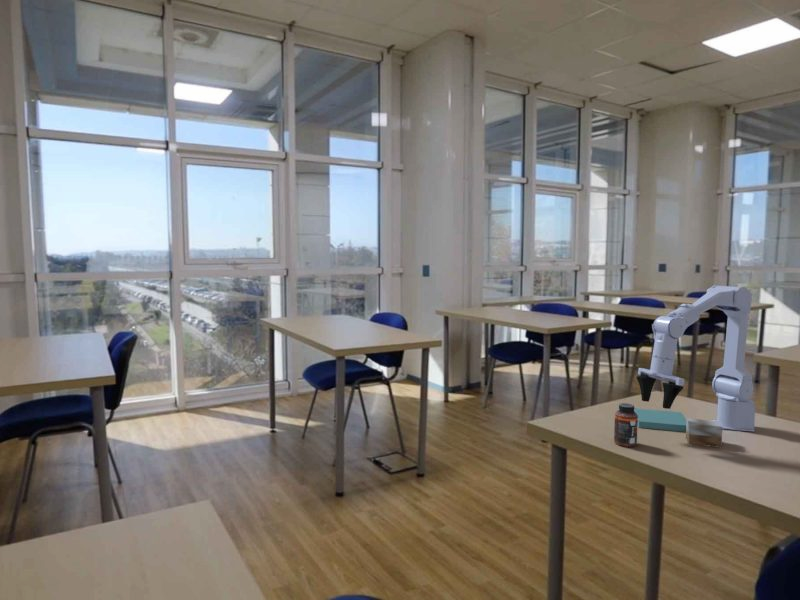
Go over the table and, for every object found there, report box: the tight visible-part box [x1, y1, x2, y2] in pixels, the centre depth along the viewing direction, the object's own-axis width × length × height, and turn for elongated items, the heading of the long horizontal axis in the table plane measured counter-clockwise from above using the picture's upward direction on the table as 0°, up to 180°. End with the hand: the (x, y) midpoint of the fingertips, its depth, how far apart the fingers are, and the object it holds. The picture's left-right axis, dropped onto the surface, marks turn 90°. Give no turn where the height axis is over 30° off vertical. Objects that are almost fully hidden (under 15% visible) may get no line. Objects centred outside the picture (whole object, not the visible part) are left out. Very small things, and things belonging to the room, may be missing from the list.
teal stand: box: [634, 407, 686, 433], centre depth 165 cm, size 14×14×2 cm
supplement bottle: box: [613, 402, 638, 448], centre depth 147 cm, size 6×6×11 cm
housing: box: [685, 418, 723, 448], centre depth 148 cm, size 8×5×6 cm, turn 71°
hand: (655, 404), depth 149 cm, fingers open, 7 cm apart
